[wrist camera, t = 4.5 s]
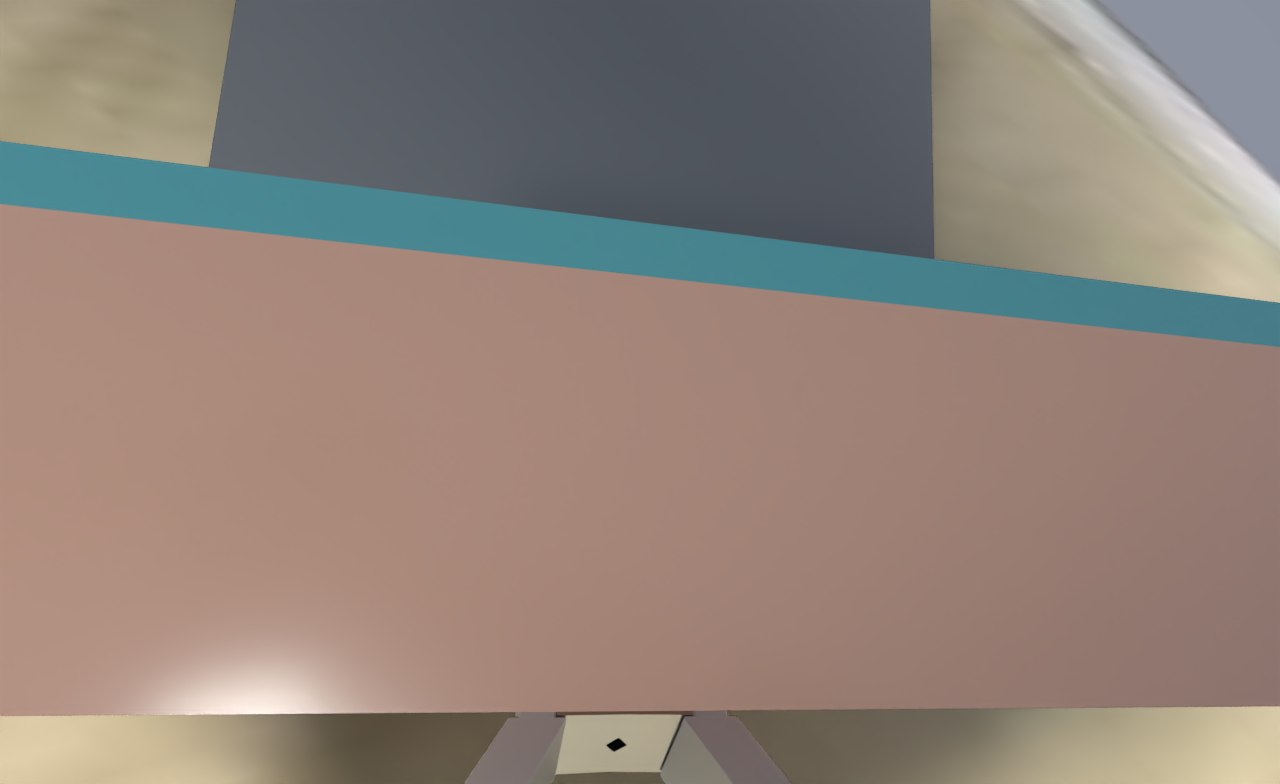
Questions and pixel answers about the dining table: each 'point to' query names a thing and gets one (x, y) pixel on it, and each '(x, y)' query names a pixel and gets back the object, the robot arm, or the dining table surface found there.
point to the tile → (602, 464)
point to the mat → (601, 109)
